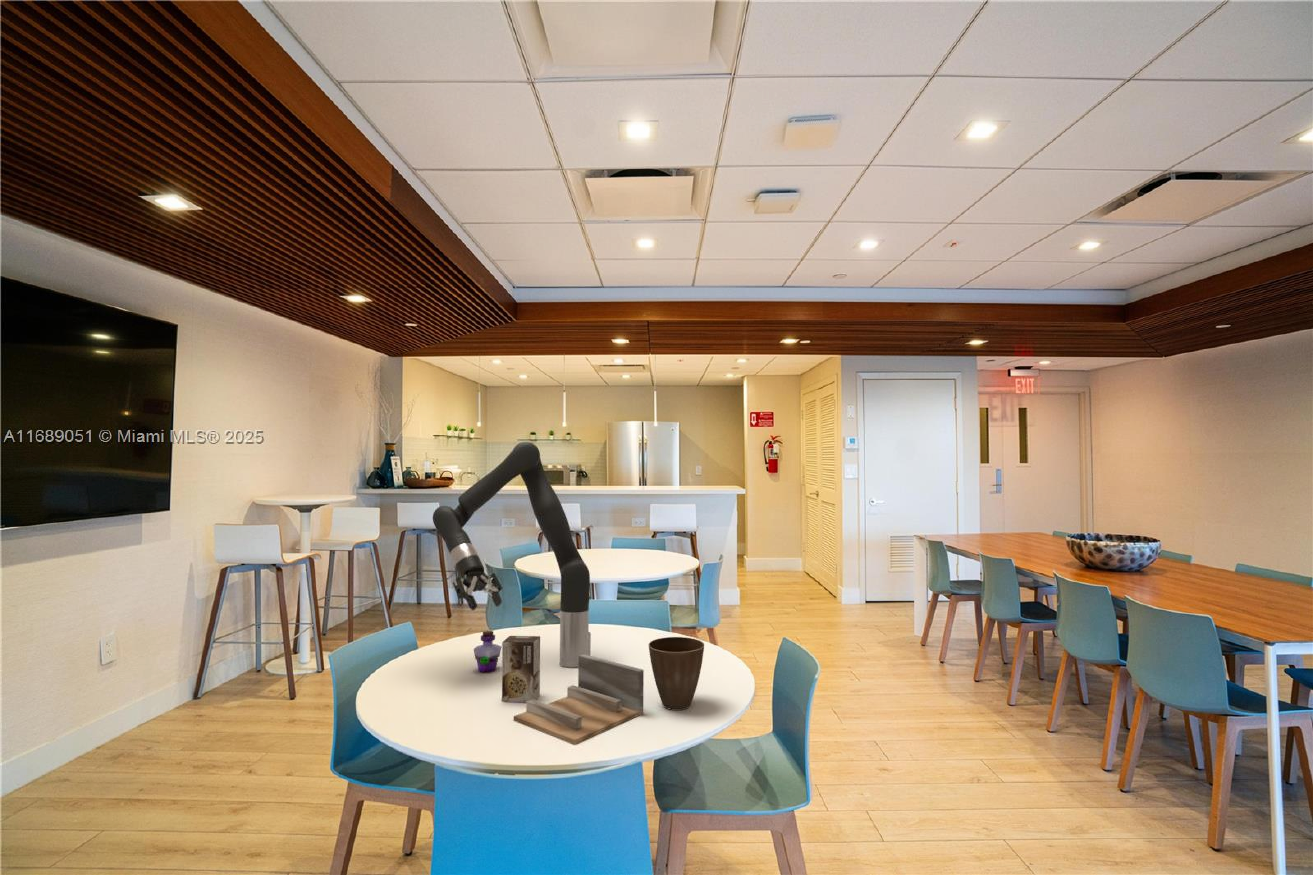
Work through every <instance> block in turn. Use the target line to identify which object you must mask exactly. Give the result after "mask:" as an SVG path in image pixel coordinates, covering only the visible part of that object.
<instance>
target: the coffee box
mask: <svg viewBox="0 0 1313 875" xmlns="http://www.w3.org/2000/svg"><path fill="white" fill-rule="evenodd" d="M501 643H502V644H501V646H502V648H501V652H502V658H501V659H502V662H501V663H502V666H501V668H502V669H501V670H502V671H501V672H502V674H501V677H502V678H501V685H502V686H501V702H502V703H503V702H507V703H508V702H512V703H527V701H529V700H532V699H533V700H536V701H537V699H538V698H539V696H540V694H541V691H540V690H541V687H540V686H541V685H540V684H541V636H540V635H538V636H537V635H509V636H507V637H506V639H504V640H503V641H502V642H501Z"/></svg>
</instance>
